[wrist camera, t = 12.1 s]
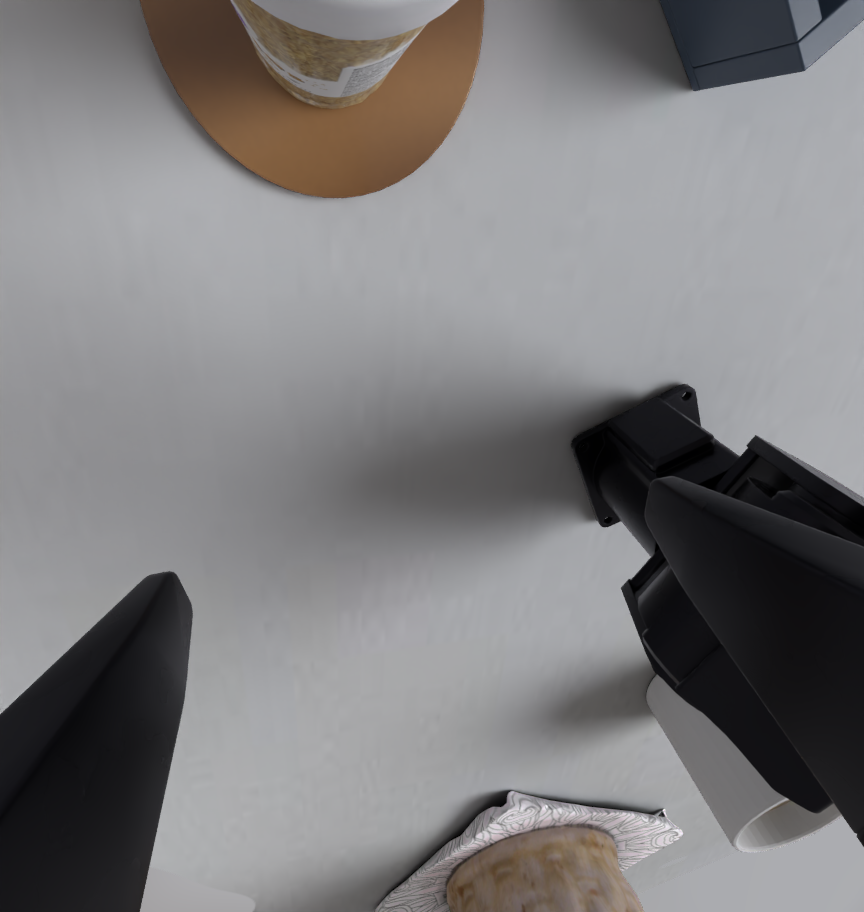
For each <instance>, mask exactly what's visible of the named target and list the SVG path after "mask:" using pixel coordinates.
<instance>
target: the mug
mask: <svg viewBox="0 0 864 912" xmlns="http://www.w3.org/2000/svg"><path fill="white" fill-rule="evenodd" d="M646 698H647V703H648V706H649V708H650V709H651V711H652V713H653V714H654V716H655V718H656V719H657V721H658V723H659V724H660V726H661V728H662V729H663V731H664V733H665V734H666V736H667V738H668V739H669V741H670V743H671V744H672V746H673V748H674V749H675V751H676V753H677V754H678V756H679V758H680V759H681V761H682V763H683V764H684V766H685V768H686V769H687V771H688V773H689V774H690V776H691V778H692V779H693V781H694V783H695V784H696V786H697V788H698V789H699V791H700V793H701V794H702V796H703V798H704V799H705V801H706V803H707V804H708V806H709V808H710V809H711V811H712V813H713V814H714V816H715V818H716V819H717V821H718V823H719V824H720V826H721V828H722V829H723V831H724V833H725V834H726V836H727V838H728V839H729V841H730V843H731V844H732V846H733V847H734V848H735V849H737V850H739V851H741V852H762V851H768V850H772V849H776V848H779V847H782V846H785V845H789V844H791V843H794V842H797V841H799V840H801V839H804V838H806V837H808V836H810V835H812V834H814V833H816V832H818V831H820V830H822V829H824V828H825V827H827V826H828V825H830V824H832V823H833V822H835V821H836V820H838V819H839V818H840V817H842V814H841V813H840V812H839V810H838V809H837V807H836V806H835V804H833V805H831V806H830V807H828V808H827V809H825V810H824V811H822V812H821V813H819V814H816V813H812V812H810V811H808V810H806V809H804V808H802V807H801V806H799V805H797V804H796V803H794V802H792V801H791V800H789V799H787V798H786V797H784V796H782V795H781V794H779V793H777V792H776V791H775V790H773V789H772V788H771V787H770V786H769V784H768V783H767V782H766V781H765V780H764V779H763V777H762V776H761V775H760V774H759V773H758V771H757V770H756V769H755V768H754V767H753V766H752V764H751V763H750V762H749V761H748V760H747V759H746V757H745V756H744V755H743V754H742V753H741V752H740V750H739V749H738V748H737V747H736V746H735V745H734V744H733V743H732V742H731V740H730V739H729V738H728V737H727V736H726V735H725V734H724V733H723V732H722V731H721V730H720V729H719V728H718V727H717V726H716V725H715V724H714V723H713V722H712V721H711V720H709V719H708V718H707V717H706V716H705V715H704V714H703V713H702V712H700V711H698V710H697V709H695V708H694V707H693V706H691V705H690V704H688V703H687V702H686V701H685V700H683V699H682V698H681V697H680V696H679V695H678V694H676V693H675V692H674V691H673V690H672V689H671V688H670V687H669V686H668V685H667V683H666V682H665V681H664V680H663V679H662V678H661V677H659V676H658V675H656V676H655V677H654V679H653V680H652V682H651V683H650V685H649V687H648V690H647V694H646Z"/></svg>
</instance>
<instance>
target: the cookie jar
mask: <svg viewBox="0 0 864 912" xmlns="http://www.w3.org/2000/svg"><path fill="white" fill-rule="evenodd" d="M682 835H683V832H682V830H681V829H680V828H678V827H677V826H676V825H674V824H673V823H672V822H671V821H670V820H669V819H668V817H667V815H666V813H665V809H663V810H662V812H661V813H660V815H659V816H654V815H649V814H644V813H639V812H634V811H624V810H615V809H605V808H596V807H587V806H582V805H575V804H569V803H563V802H557V801H551V800H546V799H542V798H538V797H534V796H530V795H525V794H521V793H517V792H514V791H511V792H509V793H508V795H507V803H506V804H505V805H504V806H502V807H491V808H489V809H487V810H485V811H484V812H482V813H481V814H479V815H478V816H477V817H476V818H475V819H474V821H473V822H472V823H471V824H470V825H469V827H468V828H467V829H466V830H465V831H464V833H463V834H462V835H461V836H459V837H457V838H455V839H453V840H452V841H450V842H448V843H447V844H446V845H445V846H444V847H443V848H441V849H440V850H439V851H438V852H437V853H436V854H435V855H434V856H432V857H431V858H430V859H429V860H428V861H427V862H426V863H425V864H424V865H423V866H421V867H420V868H419V869H418V870H417V871H416V872H415V873H414V874H413V875H411V876H410V877H409V878H408V879H407V880H406V881H405V882H403V883H402V884H401V885H400V886H398V887H397V888H396V889H395V890H393V891H392V892H391V893H390V894H389V895H388V896H387V897H385V898H384V900H383V901H382V902H381V903H380V904H379V906H378V907H377V908H376V910H375V912H644V910H643V907H642V905H641V903H640V901H639V898H638V896H637V895H636V893H635V892H634V890H633V889H632V887H631V886H630V884H629V883H628V882H627V880H626V879H625V878H624V876H623V875H622V873H621V871H623V870H626V869H627V868H629V867H631V866H632V865H634V864H635V863H636V862H639V861H640V860H642V859H643V858H645V857H647V856H649V855H651V854H654V853H655V852H656V851H658V850H659V849H662V848H664V847H665V846H667V845H668V844H671V843H674V842H675V841H677V840H678V839H679V838H680V837H682Z"/></svg>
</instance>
